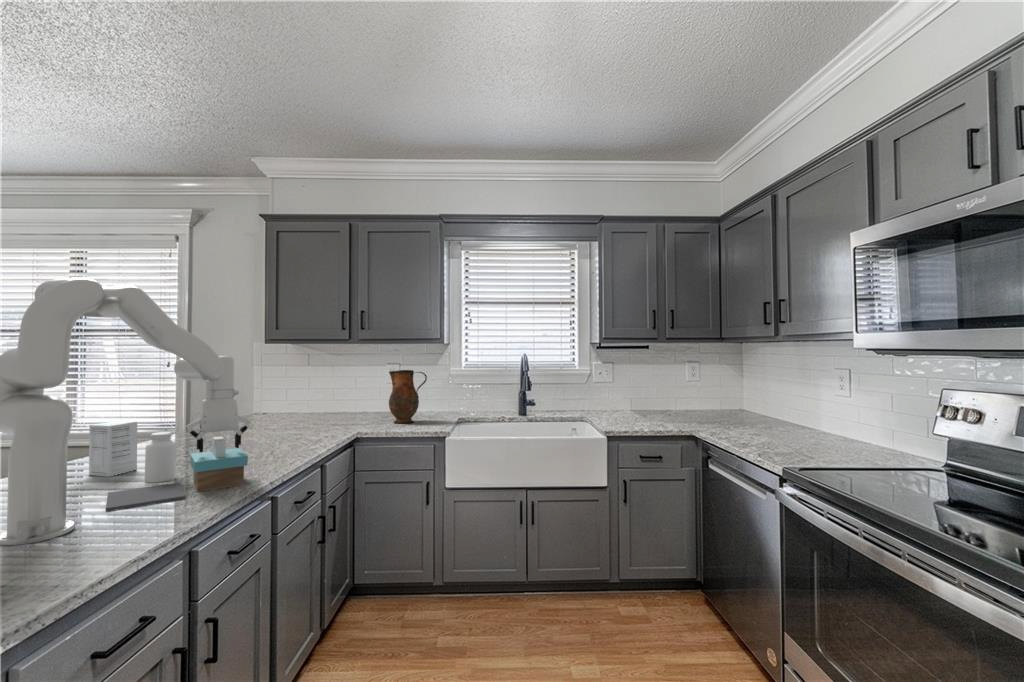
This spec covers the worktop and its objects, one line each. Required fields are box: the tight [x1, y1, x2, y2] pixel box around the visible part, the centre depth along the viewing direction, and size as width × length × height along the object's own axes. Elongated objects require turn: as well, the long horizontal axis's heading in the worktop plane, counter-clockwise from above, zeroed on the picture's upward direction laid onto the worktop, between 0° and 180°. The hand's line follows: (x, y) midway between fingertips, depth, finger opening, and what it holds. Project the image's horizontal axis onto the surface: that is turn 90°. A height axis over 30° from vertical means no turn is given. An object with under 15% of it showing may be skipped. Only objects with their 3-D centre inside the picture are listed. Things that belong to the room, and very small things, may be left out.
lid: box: [189, 436, 249, 473], centre depth 149 cm, size 14×14×8 cm
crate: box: [192, 466, 245, 492], centre depth 149 cm, size 12×12×8 cm
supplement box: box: [88, 420, 138, 478], centre depth 160 cm, size 10×9×17 cm
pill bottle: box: [144, 431, 177, 484], centre depth 152 cm, size 8×8×15 cm
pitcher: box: [388, 369, 428, 425], centre depth 271 cm, size 17×21×30 cm
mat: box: [105, 482, 186, 512], centre depth 135 cm, size 17×17×1 cm
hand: (219, 449), depth 149 cm, fingers open, 9 cm apart
